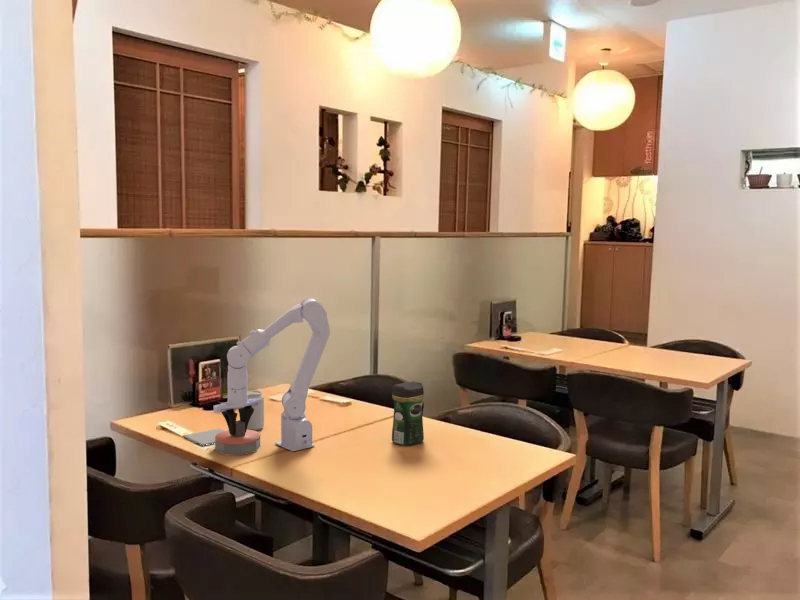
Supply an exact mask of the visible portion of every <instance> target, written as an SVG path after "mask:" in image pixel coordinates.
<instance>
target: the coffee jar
mask: <svg viewBox="0 0 800 600" xmlns="http://www.w3.org/2000/svg"><path fill="white" fill-rule="evenodd" d="M424 391H425V390H424V385H423V384H422V383H421V382H418V381H415V380H414V381H413V380H412V381H407V382H402V383H396V384H394V385H393V386H392V394H391V397H392V400H393V418H392V419H393V420H392V429H391V441H392V442H393V443H394V444H395V445H397V446H405V447H408V446H412V445H416V444H419V443H423V442H424V440H425V439H424V438H425V437H424V435H425V434H424V423H423V421H424V420H423V401H424V397H425V392H424Z"/></svg>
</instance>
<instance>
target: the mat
mask: <svg viewBox="0 0 800 600" xmlns="http://www.w3.org/2000/svg"><path fill="white" fill-rule="evenodd" d="M224 431H225V430H224V429H222V428H219V427H218V428H215V429H209V430H204V431H199V432H195V433H190V434H185V435H183V438H184V437H185V439H186V438H187V440H188V439H189V440H188V441H190V440H191V441H190V442H192V441H193V443H195V442H196V443H195V444H197V443H199V444H201V445H206V444H212V443H215V436H216V435H217V434H218V433H221V432H224ZM199 444H198V445H199ZM201 445H200V446H201ZM212 445H213V444H212Z"/></svg>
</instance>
